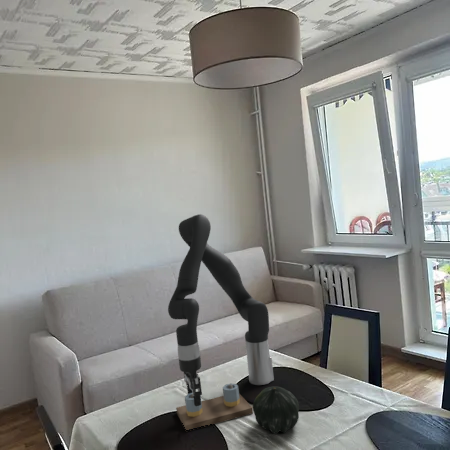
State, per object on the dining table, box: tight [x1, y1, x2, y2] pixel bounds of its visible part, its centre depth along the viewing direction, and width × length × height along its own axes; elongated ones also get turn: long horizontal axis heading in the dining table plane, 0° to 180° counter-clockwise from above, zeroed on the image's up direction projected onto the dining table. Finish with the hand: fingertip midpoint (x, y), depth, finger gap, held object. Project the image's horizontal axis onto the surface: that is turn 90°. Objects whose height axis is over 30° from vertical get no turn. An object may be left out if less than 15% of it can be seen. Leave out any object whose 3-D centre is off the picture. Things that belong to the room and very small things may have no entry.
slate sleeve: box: [184, 393, 202, 417], centre depth 156 cm, size 5×5×6 cm
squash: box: [252, 385, 300, 435], centre depth 144 cm, size 14×15×15 cm
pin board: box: [175, 383, 254, 431], centre depth 158 cm, size 24×14×9 cm, turn 109°
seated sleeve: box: [222, 383, 240, 407], centre depth 160 cm, size 5×5×6 cm
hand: (194, 400), depth 155 cm, fingers open, 8 cm apart
